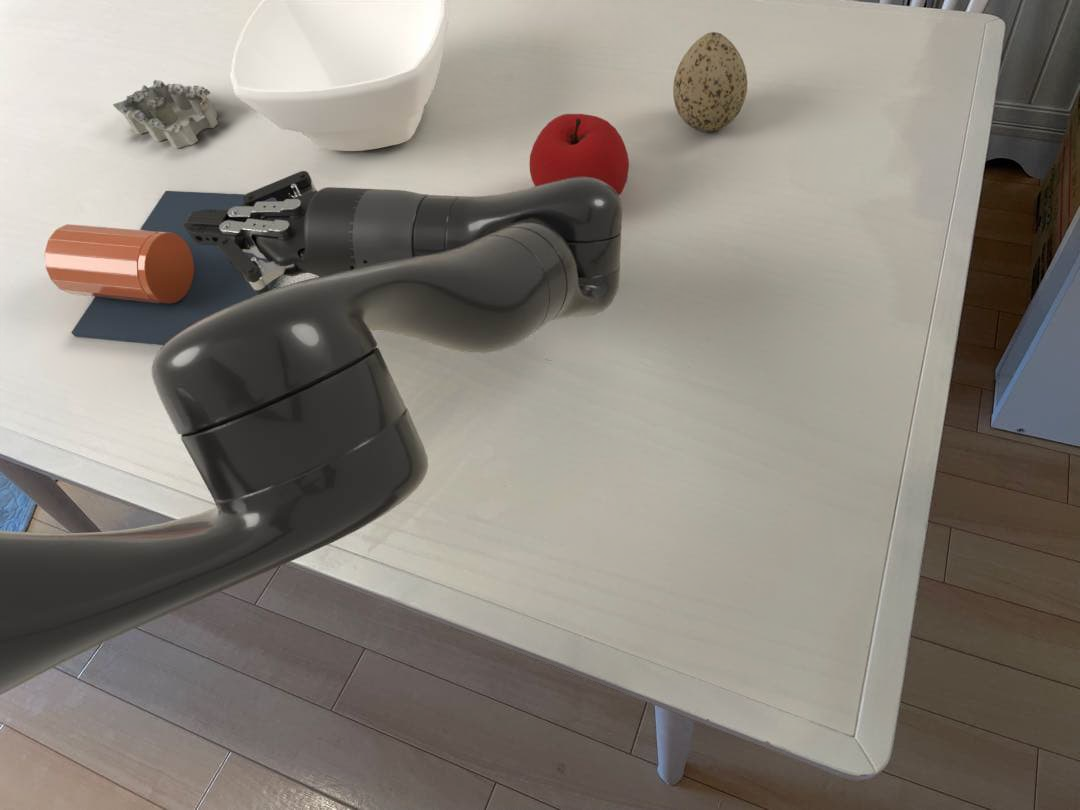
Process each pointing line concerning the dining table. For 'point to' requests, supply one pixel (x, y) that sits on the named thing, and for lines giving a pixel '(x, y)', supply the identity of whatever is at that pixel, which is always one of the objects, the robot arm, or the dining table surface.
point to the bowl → (342, 67)
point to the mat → (207, 292)
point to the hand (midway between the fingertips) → (191, 226)
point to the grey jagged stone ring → (169, 112)
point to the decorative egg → (710, 83)
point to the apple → (579, 151)
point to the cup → (119, 263)
